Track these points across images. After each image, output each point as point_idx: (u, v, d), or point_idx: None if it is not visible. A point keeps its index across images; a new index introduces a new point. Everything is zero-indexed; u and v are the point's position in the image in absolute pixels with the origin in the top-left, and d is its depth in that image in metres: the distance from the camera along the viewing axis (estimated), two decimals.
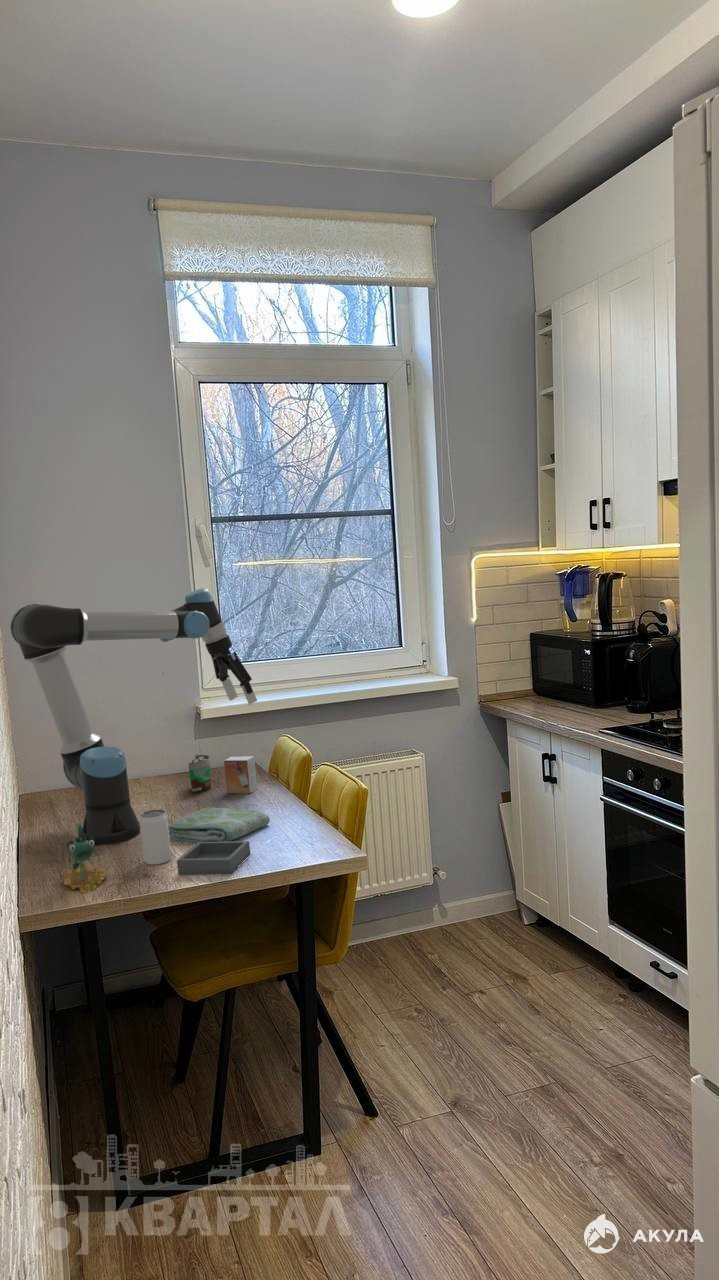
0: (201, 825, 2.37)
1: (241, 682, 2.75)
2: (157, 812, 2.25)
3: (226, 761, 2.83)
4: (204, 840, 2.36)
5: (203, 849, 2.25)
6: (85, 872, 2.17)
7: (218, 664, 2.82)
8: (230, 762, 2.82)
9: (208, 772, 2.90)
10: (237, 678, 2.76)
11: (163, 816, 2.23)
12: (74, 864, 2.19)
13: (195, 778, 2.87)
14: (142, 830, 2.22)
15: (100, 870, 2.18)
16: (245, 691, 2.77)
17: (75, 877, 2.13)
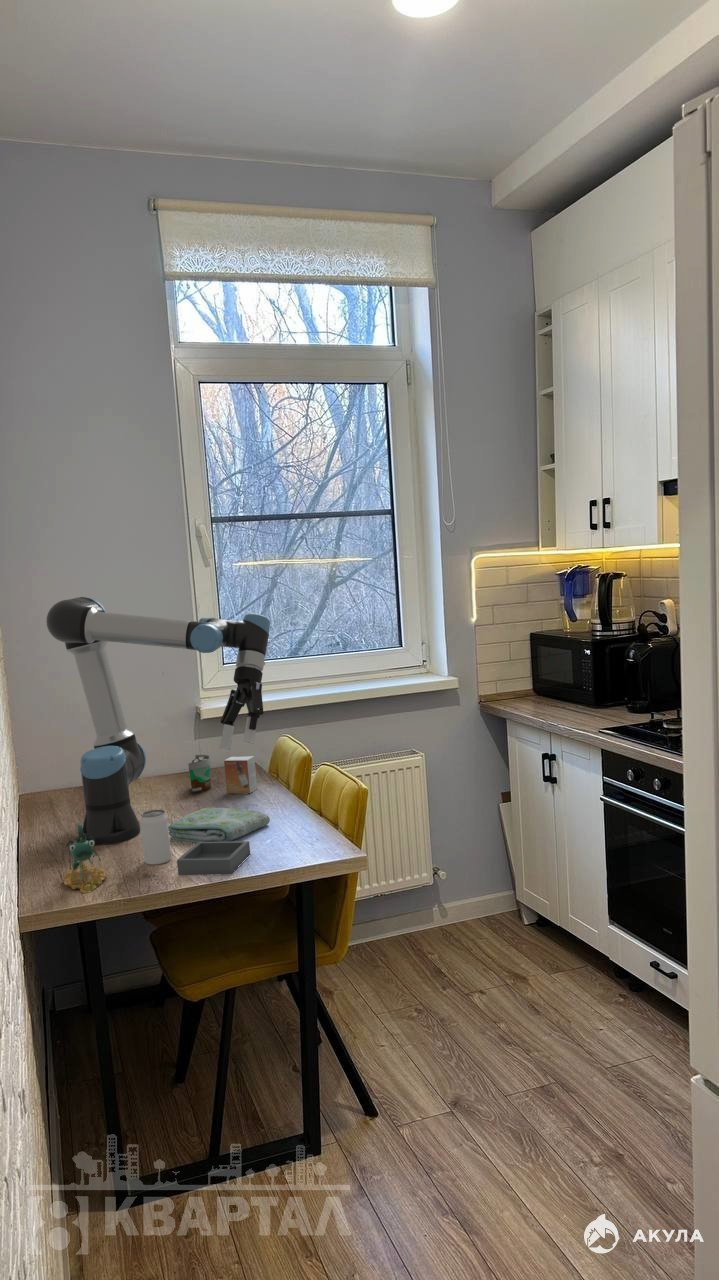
0: (201, 825, 2.37)
1: None
2: (157, 812, 2.25)
3: (226, 761, 2.83)
4: (204, 840, 2.36)
5: (203, 849, 2.25)
6: (85, 872, 2.17)
7: (234, 698, 2.51)
8: (230, 762, 2.82)
9: (208, 772, 2.90)
10: (248, 709, 2.43)
11: (163, 816, 2.23)
12: (74, 864, 2.19)
13: (195, 778, 2.87)
14: (142, 830, 2.22)
15: (100, 870, 2.18)
16: (248, 725, 2.40)
17: (75, 877, 2.13)
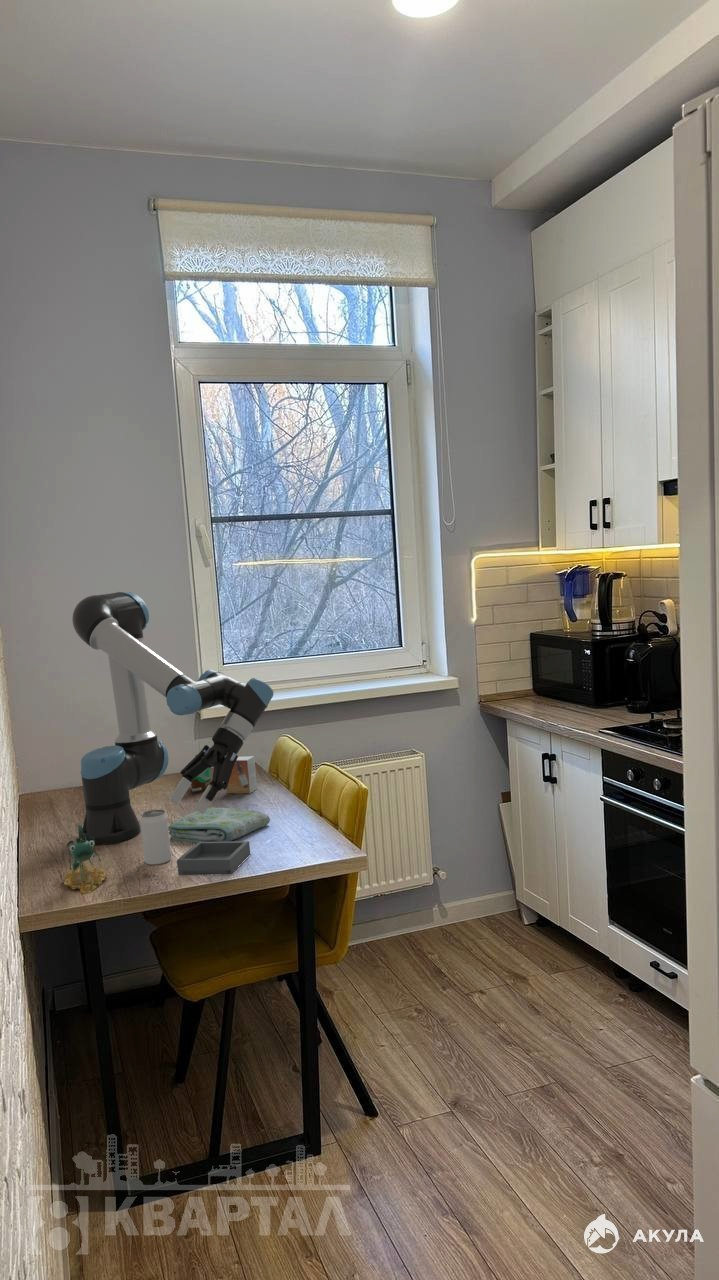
0: (201, 825, 2.38)
1: None
2: (157, 812, 2.25)
3: None
4: (204, 840, 2.36)
5: (203, 849, 2.25)
6: (85, 872, 2.16)
7: (205, 756, 2.34)
8: None
9: (208, 772, 2.90)
10: (213, 777, 2.26)
11: (163, 816, 2.23)
12: (74, 864, 2.19)
13: (195, 778, 2.87)
14: (142, 830, 2.22)
15: (100, 870, 2.18)
16: (206, 793, 2.23)
17: (75, 877, 2.13)
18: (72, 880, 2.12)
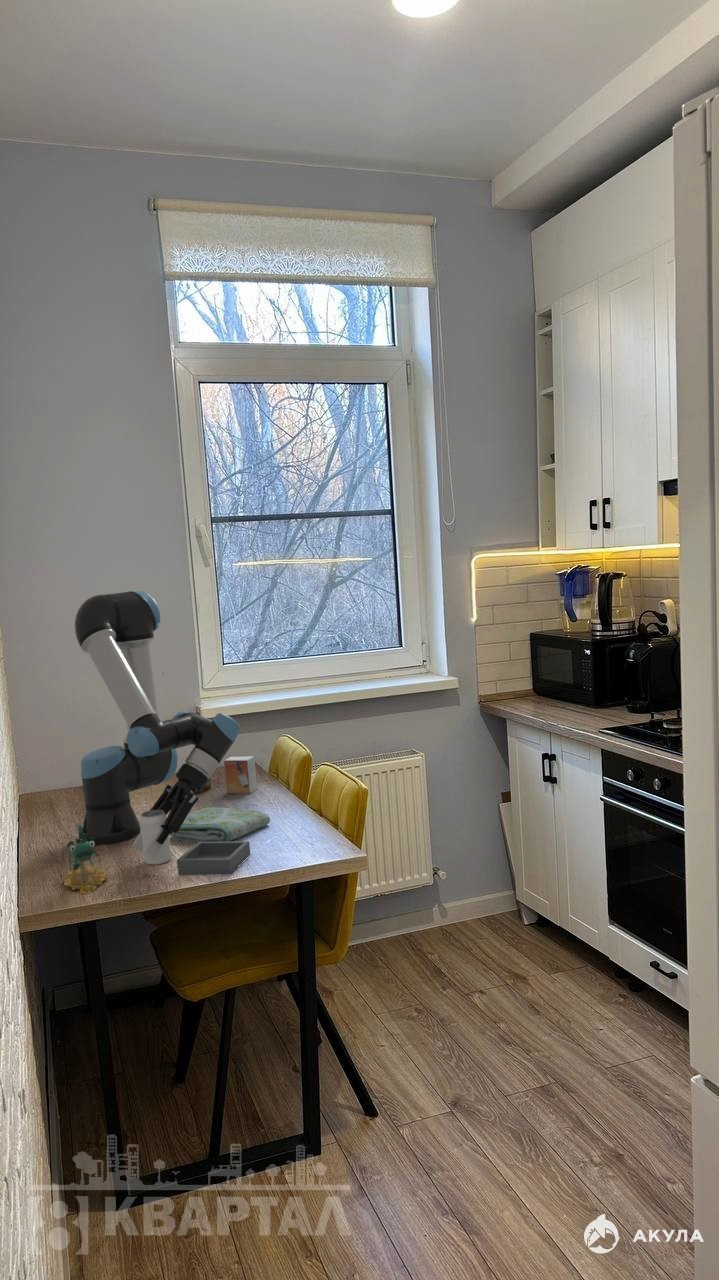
0: (201, 825, 2.38)
1: (165, 825, 2.21)
2: (157, 812, 2.25)
3: (226, 761, 2.83)
4: (204, 840, 2.36)
5: (203, 849, 2.25)
6: (85, 873, 2.16)
7: (169, 794, 2.28)
8: (230, 762, 2.82)
9: None
10: (167, 818, 2.23)
11: (163, 816, 2.23)
12: (74, 865, 2.19)
13: None
14: (142, 830, 2.22)
15: (100, 871, 2.17)
16: (157, 836, 2.21)
17: (75, 878, 2.13)
18: (72, 881, 2.12)
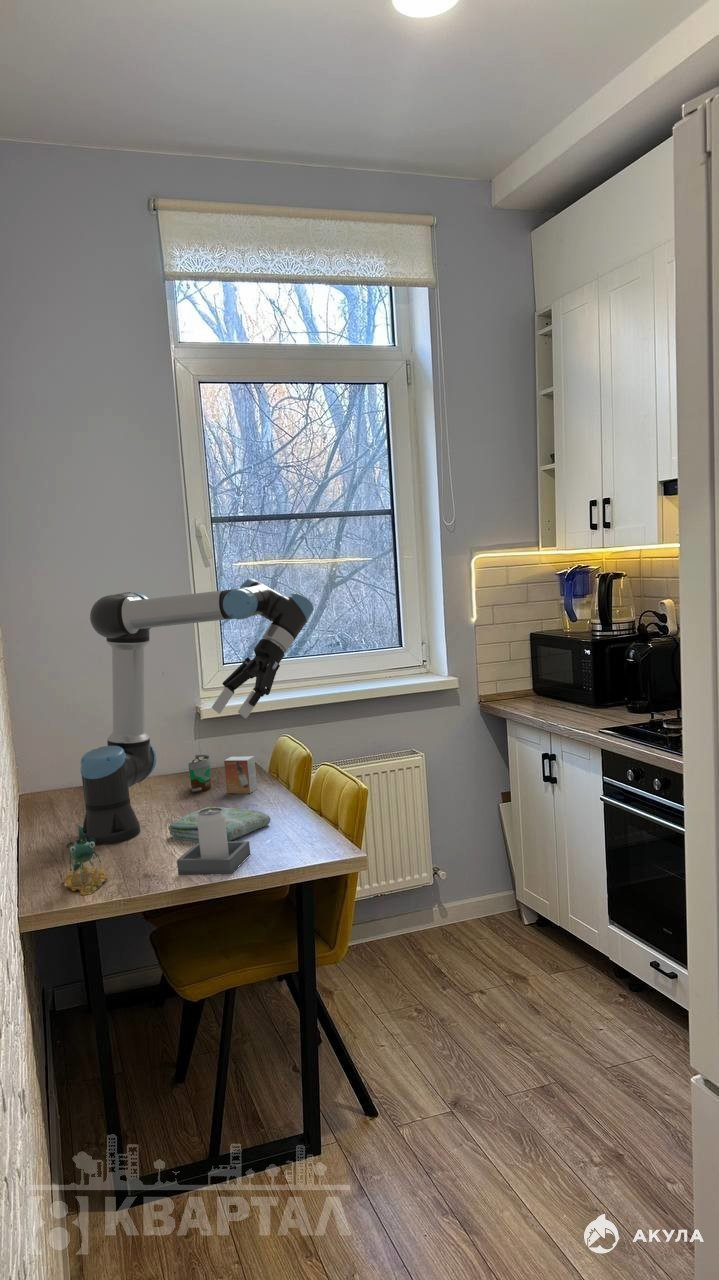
0: None
1: None
2: (214, 810, 2.19)
3: (226, 761, 2.83)
4: None
5: None
6: (86, 874, 2.15)
7: (247, 666, 2.40)
8: (230, 762, 2.82)
9: (208, 772, 2.90)
10: (256, 683, 2.32)
11: (221, 814, 2.16)
12: (75, 865, 2.18)
13: (195, 778, 2.87)
14: (199, 829, 2.15)
15: (101, 872, 2.17)
16: (249, 698, 2.29)
17: (75, 879, 2.12)
18: (72, 881, 2.11)
